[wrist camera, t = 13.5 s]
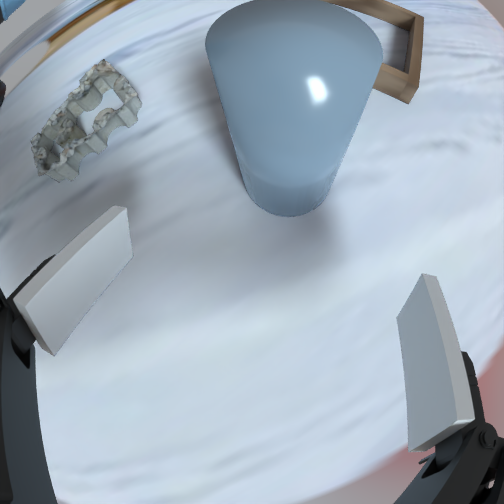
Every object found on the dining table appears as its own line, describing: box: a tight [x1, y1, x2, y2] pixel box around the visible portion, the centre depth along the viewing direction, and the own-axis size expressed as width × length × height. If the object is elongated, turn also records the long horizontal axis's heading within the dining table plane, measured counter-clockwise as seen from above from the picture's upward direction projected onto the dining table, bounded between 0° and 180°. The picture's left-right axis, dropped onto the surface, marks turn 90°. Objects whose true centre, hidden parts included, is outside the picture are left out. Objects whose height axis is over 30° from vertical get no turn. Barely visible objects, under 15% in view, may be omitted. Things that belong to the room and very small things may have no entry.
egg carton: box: [31, 59, 142, 182], centre depth 20 cm, size 11×8×4 cm
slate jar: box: [205, 0, 383, 217], centre depth 13 cm, size 6×6×12 cm
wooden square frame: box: [321, 0, 424, 104], centre depth 20 cm, size 14×14×2 cm
